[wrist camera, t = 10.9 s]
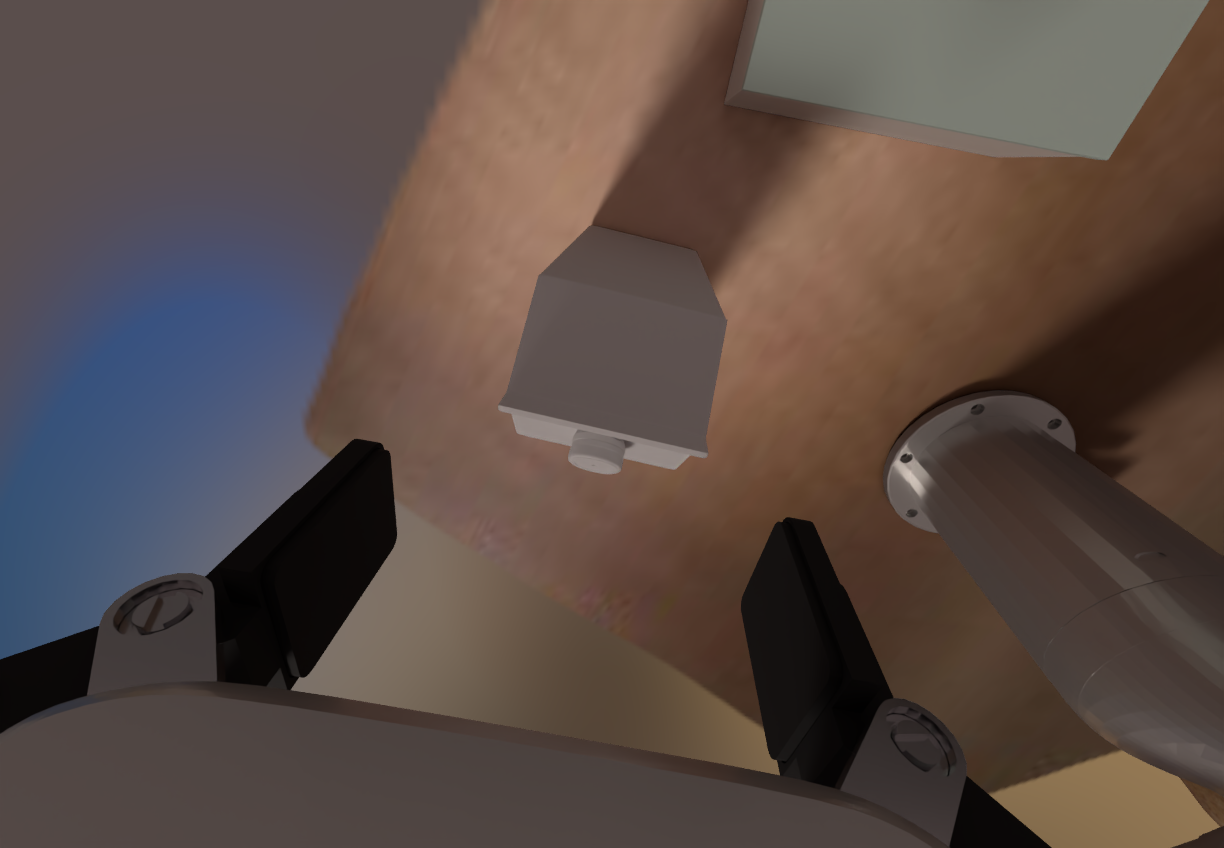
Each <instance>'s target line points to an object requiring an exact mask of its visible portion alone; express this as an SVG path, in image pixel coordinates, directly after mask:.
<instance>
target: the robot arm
mask: <svg viewBox="0 0 1224 848" xmlns="http://www.w3.org/2000/svg"><path fill="white" fill-rule="evenodd" d="M1075 450H1076V439H1075V434H1074V430H1073V428H1072V426H1071V424H1070V422H1069V420H1068V419H1067V418H1066V417H1065V416H1064V415H1063V414H1062V413H1061V412H1060V411H1059V410H1058V409H1057V408H1055V407H1054V406H1052V405H1051V404H1049V403H1047V402H1046V401H1044V400H1042V399H1040V398H1038V397H1035V396H1033V395H1030V394H1027V393H1022V392H1017V391H1003V390H993V391H986V392H979V393H973V394H970V395H966V396H963V397H959V398H956V399H954V400H951V401H949V402H947V403H945V404H942V405H940V406H938V407H936V408H935V409H933V410H931V411H930V412H928V413H926V414H925V415H923V416H922V417H921V418H919V419H918V420H917V421H916V422H914V423H913V424H912V425H911V426H910V427H908V428H907V430H906V431H905V432H904V433H903V434H902V435H901V436H900V437H899V439H898V440H897V441H896V443H895V444H894V446H893V448H892V449H891V451H890V453H889V455H888V458H887V460H886V463H885V466H884V473H883V484H884V491H885V493H886V496H887V498H888V500H889V502H890V503H891V505H892V506H893V508H894V509H895V511H896V512H897V513H898V514H899V515H900V516H901V517H902V518H903V519H904V520H905V521H907V522H909V523H910V524H912V525H914V526H915V527H918V528H920V529H923V530H926V531H929V532H934V533H939V534H940V536H941V537H942V538H943V540H944V541H945V542H946V544H947V545H948V546H949V548H950V549H951V550H952V552H953V553H954V554H955V556H956V557H957V558H958V560H959V561H960V562H961V564H962V565H963V566H964V568H965V569H966V570H967V572H968V573H969V574H970V576H971V577H972V578H973V580H974V581H975V582H976V584H977V585H978V586H979V588H980V589H981V590H982V592H983V593H984V594H985V596H986V597H987V598H988V600H989V601H990V602H991V603H992V605H993V606H994V607H995V609H996V610H997V611H998V613H999V614H1000V615H1001V617H1002V618H1003V619H1004V621H1005V622H1006V623H1007V625H1008V626H1009V627H1010V629H1011V630H1012V631H1013V633H1014V634H1015V635H1016V637H1017V638H1018V639H1019V641H1020V642H1021V643H1022V645H1023V646H1024V647H1025V649H1026V650H1027V651H1028V653H1029V654H1030V655H1031V657H1032V658H1033V659H1034V661H1035V662H1036V663H1037V665H1038V666H1039V667H1040V669H1041V670H1042V671H1043V673H1044V674H1045V675H1046V677H1047V678H1048V679H1049V680H1050V681H1051V683H1052V684H1053V685H1054V687H1055V688H1056V689H1057V691H1058V692H1059V693H1060V695H1061V696H1062V697H1063V699H1064V700H1065V701H1066V702H1067V703H1068V705H1069V706H1070V707H1071V708H1072V709H1073V710H1074V712H1075V713H1076V714H1077V715H1078V716H1079V717H1080V718H1081V719H1082V720H1083V721H1084V722H1085V723H1086V724H1087V725H1088V726H1089V727H1091V728H1092V729H1093V730H1094V731H1096V732H1097V733H1098V734H1099V735H1101V736H1102V737H1103V738H1105V739H1106V740H1107V741H1109V742H1110V743H1112V744H1113V745H1115V746H1116V747H1118V748H1120V749H1121V750H1123V751H1125V752H1126V753H1128V754H1130V755H1132V756H1134V757H1136V758H1138V759H1140V760H1142V761H1144V762H1146V763H1148V764H1150V765H1152V766H1155V767H1157V768H1159V769H1162V770H1164V771H1166V772H1168V773H1170V774H1173V775H1175V776H1178V777H1180V778H1183V779H1185V780H1188V781H1190V782H1193V783H1195V784H1198V785H1200V786H1203V787H1205V788H1208V789H1210V790H1212V791H1214V792H1216V793H1218V794H1220V795H1221V796H1223V797H1224V557H1223V556H1222V555H1221V554H1219V553H1218V552H1216V551H1215V550H1213V549H1212V548H1211V547H1209V546H1208V545H1206V544H1205V543H1203V542H1202V541H1201V540H1199V539H1198V538H1196V537H1195V536H1193V535H1192V534H1191V533H1189V532H1188V531H1186V530H1185V529H1183V528H1182V527H1181V526H1179V525H1178V524H1176V523H1175V522H1173V521H1172V520H1171V519H1169V518H1168V517H1166V516H1165V515H1164V514H1162V513H1161V512H1159V511H1158V510H1156V509H1155V508H1154V507H1152V506H1151V505H1149V504H1148V503H1146V502H1145V501H1144V500H1142V499H1141V498H1139V497H1138V496H1136V495H1135V494H1134V493H1132V492H1131V491H1129V490H1128V489H1126V488H1125V487H1124V486H1122V485H1121V484H1119V483H1118V482H1116V481H1115V480H1114V479H1112V478H1111V477H1109V476H1108V475H1107V474H1105V473H1104V472H1102V471H1101V470H1099V469H1098V468H1097V467H1095V466H1094V465H1092V464H1091V463H1089V462H1088V461H1087V460H1085V459H1084V458H1082V457H1081V456H1079V455H1078V454H1077V453H1075ZM396 539H397V527H396V515H395V503H394V491H393V480H392V468H391V456H390V453H389V451H387V450H384V447H383V445H382V444H381V443H378V442H372V441H367V440H361V439H354V440H352V441H351V442H350V443H349V444H348V445H347V446H346V447H345V448H344V449H342V450H341V451H340V452H339V453H338V454H337V455H336V456H335V457H334V458H333V459H332V460H331V461H330V462H329V463H328V464H327V465H326V466H324V467H323V468H322V469H321V470H320V471H319V472H318V473H317V474H316V475H315V476H314V477H313V478H312V479H311V480H309V481H308V482H307V483H306V484H305V485H304V486H303V487H302V488H301V489H300V490H299V491H297V492H295V493H294V494H293V495H292V496H291V497H290V498H289V499H288V500H287V501H286V502H285V503H283V504H282V505H281V506H280V507H279V508H278V509H277V510H276V511H275V512H274V513H273V514H272V515H271V516H270V517H268V518H267V519H266V520H265V521H264V522H263V523H262V524H261V525H260V526H259V527H258V528H257V529H256V530H255V531H254V532H253V533H251V534H250V535H249V536H248V537H247V538H246V539H245V540H244V541H243V542H242V543H241V544H240V545H239V546H238V547H236V548H235V549H234V550H233V551H232V552H231V553H230V554H229V555H228V556H227V557H226V558H225V559H224V560H223V561H221V562H220V563H219V564H218V565H217V566H216V567H215V568H214V569H213V570H212V571H211V572H210V573H209V574H208V575H207V576H205V577H204V576H201V575H197V574H193V573H177V574H172V575H167V576H162V577H159V578H156V579H153V580H150V581H147V582H145V583H143V584H141V585H139V586H137V587H135V588H133V589H131V590H130V591H128V592H127V593H125V594H124V595H123V596H121V597H120V598H118V599H117V600H116V601H114V603H113V604H112V605H111V606H110V607H109V608H108V609H107V610H106V612H105V613H104V615H103V617H102V620H101V622H100V625H99V626H97V627H94V628H91V629H88V630H85V631H83V632H80V633H77V634H74V635H71V636H68V637H65V638H62V639H59V640H56V641H53V642H50V643H47V644H44V645H42V646H38V647H35V648H33V649H30V650H27V651H24V652H21V653H18V654H15V655H12V656H9V657H6V658H3V659H1V660H0V848H1051V847H1050V846H1049V845H1048V844H1047V843H1045V842H1044V841H1043V840H1042V839H1041V838H1039V837H1038V836H1037V835H1036V834H1035V833H1034V832H1032V831H1031V830H1030V829H1029V828H1028V827H1026V826H1025V825H1024V824H1023V823H1022V822H1021V821H1019V820H1018V819H1017V818H1016V817H1015V816H1013V815H1012V814H1011V813H1010V812H1009V811H1007V810H1006V809H1005V808H1004V807H1003V806H1002V805H1000V804H999V803H998V802H997V801H996V800H994V799H993V798H992V797H991V796H990V795H989V794H987V793H986V792H985V791H984V790H983V789H982V788H980V787H979V786H978V785H977V784H976V783H974V782H973V781H972V780H971V779H970V778H969V777H967V776H966V772H967V763H966V760H965V757H964V754H963V751H962V749H961V747H960V745H959V744H958V742H957V740H956V738H955V737H954V735H953V734H952V733H951V732H950V731H949V729H948V728H947V727H946V726H945V725H944V723H943V722H941V721H940V720H939V719H938V718H937V717H936V716H934V715H933V714H932V713H931V712H930V711H928V710H926V709H925V708H923V707H922V706H920V705H918V704H916V703H914V702H911V701H908V700H906V699H899V698H893V695H892V693H891V691H890V689H889V686H888V684H887V682H886V680H885V677H884V675H883V673H882V671H881V668H880V666H879V664H878V662H877V659H876V657H875V655H874V653H873V650H872V648H871V646H870V644H869V641H868V639H867V637H866V635H865V632H864V630H863V628H862V626H861V623H860V621H859V619H858V617H857V614H856V612H855V610H854V608H853V605H852V603H851V601H850V598H849V596H848V594H847V592H846V590H845V589H844V587H843V586H842V585H841V584H840V583H839V581H838V578H837V576H836V574H835V571H834V569H833V567H832V565H831V562H830V560H829V558H828V555H827V553H826V551H825V549H824V546H823V544H822V542H821V539H820V537H819V535H818V533H817V530H816V528H815V526H814V524H813V523H812V522H811V521H806V520H801V519H795V518H790V517H787V518H785V519H784V520H783V522H777V523H776V524H775V526H774V528H773V530H772V532H771V534H770V536H769V539H768V541H767V543H766V545H765V548H764V550H763V552H762V554H761V556H760V559H759V561H758V563H757V565H756V567H755V570H754V572H753V574H752V576H751V578H750V581H749V583H748V585H747V587H746V590H745V592H744V594H743V597H742V601H741V612H742V617H743V623H744V628H745V633H746V638H747V643H748V648H749V654H750V659H751V664H752V669H753V674H754V680H755V685H756V690H757V695H758V700H759V705H760V711H761V716H762V721H763V726H764V731H765V736H766V742H767V747H768V751H769V754H770V756H771V758H772V759H774V760H777V762H778V767H779V772H780V775H775V774H770V773H765V772H760V771H755V770H750V769H744V768H739V767H734V766H729V765H724V764H719V763H714V762H708V761H702V760H697V759H691V758H685V757H680V756H674V755H669V754H663V753H658V752H652V751H647V750H641V749H635V748H630V747H624V746H619V745H613V744H607V743H602V742H596V741H590V740H585V739H578V738H573V737H567V736H561V735H556V734H550V733H544V732H539V731H533V730H526V729H521V728H515V727H510V726H504V725H498V724H492V723H486V722H481V721H475V720H468V719H463V718H458V717H451V716H445V715H440V714H434V713H428V712H421V711H416V710H410V709H404V708H397V707H391V706H386V705H380V704H374V703H368V702H362V701H356V700H350V699H344V698H338V697H332V696H325V695H318V694H311V693H305V692H298V691H291V688H292V687H293V686H294V684H295V683H296V681H297V680H298V678H299V677H306V676H307V675H308V674H309V673H310V672H311V671H312V669H313V668H314V666H315V665H316V663H317V662H318V660H319V659H320V657H321V656H322V654H323V653H324V651H325V650H326V648H327V647H328V645H329V644H330V642H331V641H332V639H333V638H334V636H335V634H336V633H337V632H338V630H339V629H340V627H341V626H342V624H343V623H344V621H345V620H346V618H347V617H348V615H349V614H350V612H351V611H352V609H353V608H354V606H355V605H356V603H357V602H358V600H359V599H360V597H361V596H362V594H363V593H364V591H365V590H366V588H367V587H368V585H369V584H370V582H371V581H372V579H373V578H374V576H375V575H376V573H377V572H378V570H379V569H380V567H381V566H382V564H383V563H384V561H385V560H386V558H387V557H388V555H389V554H390V552H391V551H392V549H393V547H394V545H395V542H396ZM1172 848H1224V826H1222V827H1219V828H1217V829H1215V830H1212V831H1210V832H1208V833H1205V834H1202V835H1201V836H1199V838H1198V839H1195V840H1192V841H1189V842H1187V843H1184V844H1181V845H1178V846H1175V847H1172Z"/></svg>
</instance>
